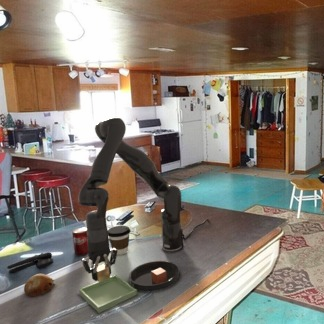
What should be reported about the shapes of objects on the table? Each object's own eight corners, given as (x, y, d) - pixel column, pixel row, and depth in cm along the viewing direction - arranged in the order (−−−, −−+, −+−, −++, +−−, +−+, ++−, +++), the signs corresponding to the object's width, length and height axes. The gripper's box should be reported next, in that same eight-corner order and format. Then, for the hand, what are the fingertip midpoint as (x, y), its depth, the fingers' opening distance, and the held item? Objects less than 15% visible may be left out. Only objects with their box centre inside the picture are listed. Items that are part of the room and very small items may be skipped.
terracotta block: (160, 276, 152) (160, 267, 151) (166, 280, 149) (166, 271, 149) (151, 280, 149) (151, 271, 148) (157, 284, 146) (157, 275, 145)
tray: (116, 279, 152) (115, 274, 151) (137, 295, 140) (136, 290, 140) (79, 294, 141) (79, 289, 140) (98, 313, 129) (98, 307, 129)
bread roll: (39, 290, 150) (28, 275, 148) (60, 280, 150) (50, 264, 148) (26, 305, 140) (14, 288, 138) (49, 293, 140) (38, 277, 138)
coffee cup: (133, 246, 182) (131, 224, 180) (130, 256, 172) (128, 233, 169) (111, 248, 180) (109, 225, 178) (106, 258, 170) (104, 234, 167)
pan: (162, 262, 166) (161, 256, 165) (188, 278, 152) (188, 271, 152) (120, 279, 151) (120, 273, 151) (146, 298, 138) (145, 291, 137)
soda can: (84, 256, 171) (82, 233, 169) (71, 255, 173) (68, 232, 170) (94, 250, 178) (91, 227, 176) (81, 248, 180) (78, 226, 177)
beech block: (104, 273, 145) (104, 263, 144) (109, 277, 142) (109, 267, 141) (94, 277, 142) (93, 267, 141) (99, 282, 139) (97, 271, 138)
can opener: (53, 259, 169) (51, 248, 168) (54, 265, 163) (52, 254, 162) (8, 270, 160) (6, 258, 159) (7, 276, 154) (5, 265, 153)
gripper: (111, 229, 146) (114, 268, 149) (75, 240, 136) (79, 281, 139) (120, 234, 141) (123, 274, 144) (83, 246, 131) (87, 288, 134)
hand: (101, 277), depth 142 cm, fingers closed on beech block, 4 cm apart
